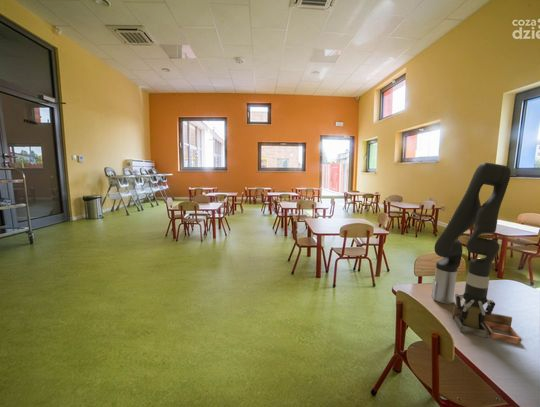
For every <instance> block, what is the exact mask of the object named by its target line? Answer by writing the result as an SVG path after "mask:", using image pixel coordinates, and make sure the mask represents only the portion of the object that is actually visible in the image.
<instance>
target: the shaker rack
mask: <svg viewBox="0 0 540 407" xmlns="http://www.w3.org/2000/svg"><path fill="white" fill-rule="evenodd" d="M466 312H467V310H466ZM451 318H452V320H454V322H455V324H456V327H458V330H459V332H460V333H464V334H468V335H473V336H476V337H477V336H478V337H482V338H483V337H484V338H487V339H489V338H490V339H492V340H497V341H501V342H506V343H510V344H515V345H519V346H520V345H521V342H522V338H521V337H520V336H519V335H518V333H517V332H516V331H515V330H514V328H512V323H513V322H512V321H513V317H512V316H509V315H504V314H500V313H499V314H498V313H494V312H492V313H491V315H485V316H484V321H483V322H482V323H479V329H475V328H470V327H466V326H463V325H462V324H463V321H464V319H463V318H462V317H461V310H460V309H458V307H457V305H454V306H453V311H452V317H451ZM492 329H493V330H497V331H498V330H499V331H503V332H507V333H508V334H509V335H507V334H503V333H499V332H495V331H493V330H492Z"/></svg>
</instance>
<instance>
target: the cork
mask: <svg viewBox="0 0 540 407" xmlns="http://www.w3.org/2000/svg"><path fill="white" fill-rule="evenodd" d="M480 312H481V310H480V307H475V306H470V307H469V308H468V309H467V312H466V317H465V320H464V321H463V322H462V325H463V326H466V327H470V328H475V329H480V328H479V314H480Z"/></svg>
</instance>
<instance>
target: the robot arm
mask: <svg viewBox="0 0 540 407" xmlns="http://www.w3.org/2000/svg"><path fill="white" fill-rule="evenodd" d="M510 168H511V167H509V166H507V165H504V164H500V163H498V164H497V163H492V162H482V163H480V164H479V165H478V167H477V168H476V169H475V171H474V172H473V175H472V178H471V180H470V182H469V185H468V187H467V190H465V191H466V192H465V193H464V195H463V197H462V198H461V200H460V202H459V204H458V206H457V207H456V209H455V211H454V213H453V215H452V217H451V219H450V220H449V222H448V224H447V225H446V227H445V229H444V230H443V232H442V233H441V235H439V237H438V238H437V239H436V242H435V243H434V252H435V254H436V255H437V256H438V257H440V258H441V257H442V258H441V259H440V260H438V261H436V263H435V264H436V266H435V273H434V279H433V281H432V287H431V297H432V300H433V301H434V302H435V301H436V302H439V303H441V304H445V305H446V304H447V305H451V304H453V303H454V295H455V303H456V305H455V306H457V307H458V309H460V310H461V317H462V318H463V319H464V320H465V317H466V310H467V309H468V308H469V307H470V306H475V307H480V310H481V312H480V314H479V323H482V322H483V321H484V316H485V315H491V313H493V311H494V308H495V306H496V302H495V301H494V300H492V299H488V298H487V297H488V291H489V285H490V273H491V266H492V264H493V261H494V259H495V257H496V256H497V255H498V253H499V252H500V244H499V242H498V241H497V240H495V239H493V238H492V239H490V238H485V237H480V236H481V235H483V234H484V235H485V234H490V235H491V234H495V233H496V231H497V226H498V225H497V224H498V219H499V218H498V217H499V212H500V209H501V205H502V203H503V200H504V197H505V195H506V192H507V189H508V187H509V186H508V185H509V183H510V179H511V173H512V172H511V169H510ZM484 185H487V186H492V187H493V188H492V189H493V190H492V192H491V195H490V196H489V197H488V199H487V200H486V201H485V202H483V204H481V200H480V192H481V189H482V187H483V186H484ZM472 227H473V230H472V233H471V234H470V236H469V238H468V239H467V242H466V250H467V251H468V252H469V253H470V254H476V255H482V256H485V257H484V258H471V259H470V260H469V264H468V270H467V275H466V279H465V286H464V293H463V294H458V293H456V294H455V288H456V282H457V274H458V269H459V267H460V265H461V262H462V256H463V244H462V242H461V241H460V240H458V238H459V237H460V236H461V235H463V234H464V233H465V232H467V231H468V230H470V229H471V228H472ZM463 299H464V301H463ZM461 301H463V303H462V302H461ZM485 304H487V306H486V308H484V305H485Z"/></svg>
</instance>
